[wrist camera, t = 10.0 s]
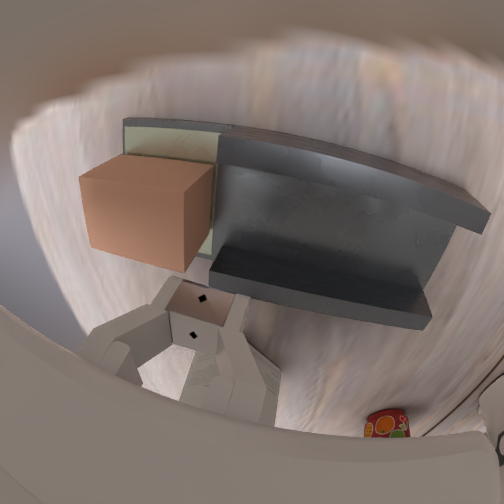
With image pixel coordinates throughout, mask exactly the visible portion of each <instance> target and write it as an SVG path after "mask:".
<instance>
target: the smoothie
mask: <svg viewBox="0 0 504 504" xmlns="http://www.w3.org/2000/svg"><path fill="white" fill-rule="evenodd" d="M364 437H369V438H407V437H410V429H409V422H408V418H407V417H406V416H405V415H404V412H403V411H402V410H399V409H388V410H383V411H379V412H377V413H375V414H373V415H371V416H370V417H369V418H368V423H367V424H366V425H365V429H364Z"/></svg>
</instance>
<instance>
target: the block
mask: <svg viewBox="0 0 504 504" xmlns="http://www.w3.org/2000/svg"><path fill="white" fill-rule="evenodd" d="M213 170H214V165H210V164H203V163H196V162H188V161H181V160H172V159H164V158H155V157H145V156H134V155H122V154H121V155H119V156H117V157H115V158H113V159H111V160H109V161H107V162H105V163H103V164H101V165H99V166H98V167H96V168H94V169H92V170H90V171H88V172H87V173H85V174H83V175H81V176H79V182H80V190H81V197H82V203H83V209H84V215H85V220H86V226H87V231H88V235H89V240H90V245H91V248H95V249H98V250H101V251H105V252H108V253H112V254H115V255H119V256H122V257H126V258H129V259H133V260H136V261H140V262H144V263H147V264H151V265H155V266H158V267H162V268H166V269H170V270H174V271H177V272H181V273H185V272H186V270H187V268H188V267H189V265H190V264H191V262H192V260H193V259H194V257H195V256H196V254H197V252H198V251H199V249H200V248H201V246H202V244H203V243H204V241H205V240H206V238H207V237H208V235H209V229H210V212H211V197H212V183H213Z"/></svg>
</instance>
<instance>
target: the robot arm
mask: <svg viewBox="0 0 504 504" xmlns="http://www.w3.org/2000/svg"><path fill="white" fill-rule="evenodd" d="M249 304H250V297H249V296H245V295H241V294H236V293H233V292H229V291H225V290H221V289H217V288H213V287H208V286H205V285H202V284H198V283H195V282H192V281H188V280H185V279H181V278H178V277H175V276H171V277H169V278H168V279H167V281H166V282H165V284H164V285H163V287H162V288H161V290H160V291H159V293H158V294H157V296H156V297H155V299H154V300H153V302H152V303H151V305H149V304H145V305H143V306H141V307H139V308H137V309H135V310H132V311H130V312H128V313H126V314H124V315H122V316H120V317H117V318H115V319H113V320H111V321H109V322H107V323H104V324H102V325H100V326H98V327H96V328H94V329H93V330H92V332H91V333H90V334H89V336H88V337H87V339H86V340H85V342H84V343H83V344H82V346H81V347H80V349H79V350H78V352H77V353H76V354H73V353H71V352H70V351H68V350H66V349H65V348H63V347H61V346H60V345H58V344H56V343H55V342H53V341H52V340H50V339H48V338H47V337H45V336H43V335H42V334H40V333H39V332H38V331H36V330H35V329H33V328H31V327H30V326H29V325H27V324H26V323H24V322H23V321H22V320H20V319H19V318H17V317H16V316H15V315H13V314H12V313H11V312H9V311H8V310H7V309H6V308H4V307H3V306H2V305H1V304H0V504H498V501H499V504H504V375H502V376H501V377H500V378H498V379H497V380H496V381H495V382H494V383H492V384H491V385H490V386H489V387H488V388H487V389H486V390H485V391H484V392H483V393H482V395H481V396H480V398H479V400H478V403H479V405H480V406H479V408H478V413H479V414H482V416H483V419H484V422H485V426H486V430H487V433H488V437H489V441H490V442H489V441H488V439H487V438H486V437H485V435H484V434H483V433H482V432H480V431H469V432H463V433H456V434H448V435H438V436H426V437H407V438H369V437H349V436H336V435H326V434H317V433H309V432H302V431H295V430H289V429H283V428H278V427H272V426H267V425H263V424H258V423H259V419H260V415H261V410H262V406H263V402H264V397H265V392H266V385H265V383H264V381H263V378H262V376H261V374H260V371H259V369H258V367H257V364H256V362H255V359H254V357H253V355H252V352H251V350H250V347H249V345H248V342H247V340H246V338H245V335H244V333H243V331H244V327H245V323H246V318H247V314H248V309H249ZM172 343H173V344H176V345H180V346H183V347H186V348H190V349H193V350H196V351H199V352H202V353H205V354H208V355H211V356H215V357H216V361H217V365H218V368H219V372H220V376H221V377H219V376H216V377H214V378H212V380H211V382H210V385H209V388H208V390H207V393H206V396H205V398H204V401H203V403H202V406H201V408H198V407H195V406H191V405H188V404H185V403H183V402H180V401H177V400H174V399H171V398H168V397H166V396H163V395H160V394H158V393H155V392H153V391H150V390H148V389H145V388H143V387H141V386H142V384H143V382H142V380H141V377H140V375H139V372H138V369H137V368H138V367H140V366H141V365H143V364H144V363H146V362H147V361H149V360H150V359H152V358H153V357H155V356H156V355H158V354H159V353H161V352H162V351H163V350H165V349H166V348H168V347H169V346H171V345H172ZM491 443H492V444H493V445H494V446H495V450H494V448H493V446H492V445H491Z"/></svg>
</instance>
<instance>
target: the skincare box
mask: <svg viewBox="0 0 504 504" xmlns="http://www.w3.org/2000/svg"><path fill="white" fill-rule="evenodd" d="M248 345H249V347H250V350H251V352H252V355H253V357H254V359H255V362H256V364H257V367H258V369H259V371H260V374H261V376H262V378H263V381H264V383H265V385H266V392H265V397H264V402H263V406H262V410H261V415H260V419H259V423H258V424H263V425H267V426H272V427H274V425H275V418H276V411H277V403H278V395H279V387H280V378H281V372H282V371H281V370H280V369H279V368H278V367H277V366H275V365H274V364H273V363H272V362H270V361H269V360H268V359H267V358H266V357H264V356H263V355H262V354H261V353H260V352H258V351H257V350H256V349H255V348H254V347H252V346H251V345H250V344H249V343H248ZM216 376H219V377H221V376H220V372H219V368H218V365H217V361H216V357H215V356H211V355H208V354H205V353H202V352H199V351H196V353H195V356H194V358H193V361H192V364H191V367H190V370H189V373H188V376H187V379H186V382H185V385H184V387H183V390H182V393H181V396H180V399H179V401H180V402H183V403H185V404H188V405H191V406H195V407H198V408H201V406H202V403H203V401H204V398H205V396H206V393H207V390H208V388H209V385H210V382H211V380H212V378H214V377H216Z"/></svg>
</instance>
